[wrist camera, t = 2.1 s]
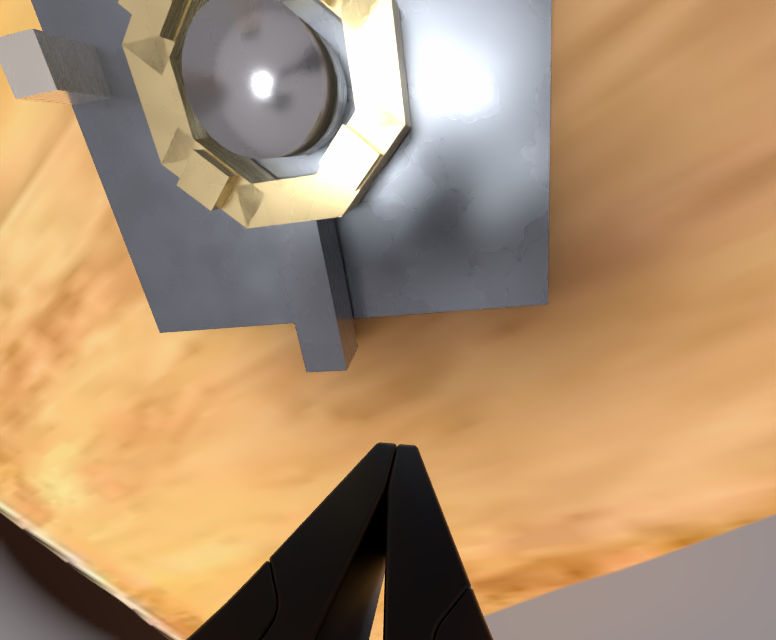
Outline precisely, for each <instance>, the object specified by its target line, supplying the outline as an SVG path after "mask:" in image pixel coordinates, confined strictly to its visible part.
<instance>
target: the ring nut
mask: <svg viewBox="0 0 776 640" xmlns="http://www.w3.org/2000/svg"><path fill="white" fill-rule="evenodd" d="M208 1H210V0H119V1H118V4H120V5H121V6H122V7H123V8H125V9H126V10H127V11H128V12H130V13H131V14H132V16H131V19H130V22H129V25H128V28H127V31H126V34H125V37H124V40H123V42H122V46H123V49H124V52H125V55H126V58H127V61H128V64H129V67H130V70H131V73H132V77H133V80H134V83H135V86H136V89H137V92H138V95H139V98H140V101H141V104H142V107H143V110H144V113H145V116H146V119H147V122H148V125H149V128H150V131H151V134H152V137H153V140H154V143H155V146H156V149H157V152H158V155H159V158H160V162H161V164H162V165H163V166H164V167H166V168H167V169H168V170H170V171H171V172H172V173H174V174H175V175H176V176H178V177H179V178H180V179H179V181H178V183H177V186H178V187H180V188H181V189H182V190H184V191H185V192H186V193H188V194H189V195H190V196H192V197H193V198H194V199H196V200H197V201H198V202H200V203H201V204H202V205H204V206H205V207H206V208H208V209H209V210H210V211H213V210H217V209H222V210H223V211H224V212H226V213H227V214H228V215H230V216H231V217H232V218H234V219H235V220H236V221H238V222H239V223H240V224H242V225H243V226H244V227H246V228H255V227H263V226H271V230H272V234H273V238H274V242H275V246H276V250H277V254H278V258H279V262H280V266H281V270H282V274H283V278H284V282H285V286H286V290H287V294H288V298H289V303H290V307H291V311H292V315H293V319H294V323H295V327H296V331H297V335H298V339H299V343H300V347H301V351H302V355H303V359H304V363H305V367H306V372H322V371H343V370H347V369H348V367H349V364H350V362H351V360H352V358H353V356H354V354H355V352H356V350H357V348H358V343H357V337H356V332H355V327H354V321H353V316H352V311H351V305H350V300H349V294H348V289H347V284H346V278H345V273H344V268H343V262H342V257H341V251H340V246H339V241H338V235H337V230H336V225H335V219H334V218H336V217H342V216H344V215H345V214H347V213H348V212H350V211H351V210H353V209H354V208H356V206H357V205H358V203H359V202H360V201H361V199H362V198H363V196H364V195H365V193H366V192H367V190H368V189H369V188H370V186H371V185H372V183H373V182H374V180H375V179H376V178H377V176H378V175H379V173H380V172H381V170H382V169H383V167H384V166H385V165H386V163H387V162H388V160H389V159H390V157H391V156H392V155H393V153H394V152H395V150H396V149H397V147H398V146H399V144H400V143H401V142H402V140H403V139H404V137H405V136H406V134H407V133H408V132H409V130H410V129H411V117H410V108H409V98H408V89H407V79H406V70H405V61H404V51H403V42H402V32H401V23H400V13H399V6H398V3H397V1H396V0H315V1H316V2H318V3H319V4H320V5H321V6H322V7H323V8H324V9H326V10H327V11H328V12H329V13H330V14H331V15H333V16H334V17H335V18H336V19H337V20H338V21H340V22H341V23H342V24H343V28H344V34H345V41H346V48H347V54H348V61H349V67H350V74H351V81H352V87H353V94H354V101H355V107H356V111H355V113H354V114H353V116H352V118H351V119H350V121H349V122H348V124H347V125H344V124H343V125H342V127H341V128H340V130H339V131H338V133H337V135H336V136H335V138H334V140H333V141H332V143H331V144H330V146H329V148H328V149H327V151H326V153H325V154H324V156H323V157H322V159H321V161H320V162H319V164H320V165H321V167H320V169H319V171H318V172H317V173H315V174H308V175H301V176H294V177H287V178H281V179H276V178H274V177H273V176H272V175H271V174H269V173H268V172H267V171H265V170H264V169H263V168H262V167H260V166H259V165H258V164H256V163H255V162H254V161H253V160H251V159H250V158H248V157H244V156H241V155H238V154H235V153H233V152H231V151H229V150H228V149H226V148H224V147H223V146H222V145H220V144H219V143H218V142H217V141H215V140H214V139H213V138H212V137H211V136H210V135H209V134H208V133H207V132H206V130H205V129H204V128H203V126H202V125H201V124H200V122H199V121H198V119H197V117H196V116H195V114H194V112H193V110H192V108H191V106H190V104H189V101H188V98H187V95H186V91H185V87H184V83H183V76H182V51H183V45H184V40H185V37H186V34H187V31H188V28H189V26H190V24H191V22H192V20H193V19H194V17H195V16H196V14H197V13H198V11H199V10H200V9H201V8H202V7H203V6H204V5H205V4H206V3H207V2H208Z"/></svg>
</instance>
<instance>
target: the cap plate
mask: <svg viewBox="0 0 776 640" xmlns="http://www.w3.org/2000/svg"><path fill="white" fill-rule="evenodd" d="M118 1H119V0H31V2H32V4H33V7H34V9H35V12H36V15H37V17H38V20H39V22H40V25H41V27H42V30H43V31H39V30H36V29H30V30H26V31H22V32H18V33H14V34H10V35H6V36H3V37H0V64H1V66H2V68H3V71H4V73H5V75H6V78H7V80H8V82H9V85H10V87H11V89H12V91H13V94H14V96H15V98H16V99H22V100H31V101H41V102H50V103H60V104H69V105H72V107H73V110H74V112H75V115H76V118H77V120H78V123H79V125H80V128H81V130H82V133H83V136H84V138H85V141H86V143H87V146H88V149H89V151H90V154H91V156H92V159H93V161H94V164H95V167H96V169H97V172H98V174H99V177H100V179H101V182H102V185H103V187H104V190H105V192H106V195H107V197H108V200H109V203H110V205H111V208H112V210H113V213H114V216H115V218H116V221H117V223H118V226H119V228H120V231H121V234H122V236H123V239H124V241H125V244H126V246H127V249H128V252H129V254H130V257H131V259H132V262H133V264H134V267H135V270H136V272H137V275H138V277H139V280H140V282H141V285H142V288H143V290H144V293H145V295H146V298H147V301H148V303H149V306H150V308H151V311H152V313H153V316H154V319H155V321H156V324H157V326H158V329H159V331H160V333H164V332H178V331H191V330H205V329H219V328H232V327H246V326H260V325H273V324H287V323H294V319H293V315H292V311H291V307H290V303H289V298H288V294H287V290H286V286H285V282H284V278H283V274H282V270H281V266H280V262H279V258H278V254H277V250H276V246H275V242H274V238H273V234H272V230H271V226H263V227H255V228H246V227H244V226H243V225H242V224H240V223H239V222H238V221H236V220H235V219H234V218H232V217H231V216H230V215H228V214H227V213H226V212H224V211H223V210H222V209H217V210H213V211H210V210H209V209H208V208H206V207H205V206H204V205H202V204H201V203H200V202H198V201H197V200H196V199H194V198H193V197H192V196H190V195H189V194H188V193H186V192H185V191H184V190H182V189H181V188H180V187H178V186H177V183H178V181H179V179H180V178H179V177H178V176H176V175H175V174H174V173H172V172H171V171H170V170H168V169H167V168H166V167H164V166H163V165H162V164H161V162H160V158H159V155H158V152H157V149H156V146H155V143H154V140H153V137H152V134H151V131H150V128H149V125H148V122H147V119H146V116H145V113H144V110H143V107H142V104H141V101H140V98H139V95H138V92H137V89H136V86H135V83H134V80H133V77H132V73H131V70H130V67H129V64H128V61H127V58H126V55H125V52H124V49H123V46H122V42H123V40H124V37H125V34H126V31H127V28H128V25H129V22H130V19H131V16H132V14H131V13H130V12H128V11H127V10H126V9H125V8H123V7H122V6H121V5H120V4H118ZM396 1H397V3H398V6H399V13H400V23H401V32H402V42H403V51H404V61H405V70H406V79H407V89H408V98H409V108H410V117H411V129H410V130H409V132H408V133H407V134H406V136H405V137H404V139H403V140H402V142H401V143H400V144H399V146H398V147H397V149H396V150H395V152H394V153H393V155H392V156H391V157H390V159H389V160H388V162H387V163H386V165H385V166H384V167H383V169H382V170H381V172H380V173H379V175H378V176H377V178H376V179H375V180H374V182H373V183H372V185H371V186H370V188H369V189H368V190H367V192H366V193H365V195H364V196H363V198H362V199H361V201H360V202H359V203H358V205H357V206H356V208H354V209H353V210H351V211H350V212H348V213H347V214H345V215H344V216H342V217H336V218H334V219H335V225H336V230H337V235H338V241H339V246H340V251H341V257H342V262H343V268H344V273H345V278H346V284H347V289H348V294H349V300H350V305H351V311H352V316H353V319H355V318H369V317H382V316H396V315H410V314H423V313H437V312H451V311H464V310H478V309H491V308H505V307H519V306H532V305H546V304H548V259H549V180H550V101H551V21H552V0H396ZM182 76H183V83H184V87H185V91H186V95H187V98H188V101H189V104H190V106H191V108H192V110H193V112H194V114H195V116H196V117H197V119H198V121H199V122H200V124H201V125H202V126H203V128H204V129H205V130H206V132H207V133H208V134H209V135H210V136H211V137H212V138H213V139H214V140H215V141H217V142H218V143H219V144H220V145H222V146H223V147H224V148H226V149H228V150H229V151H231V152H233V153H235V154H238V155H241V156H244V157H248V158H250V159H251V160H253V161H254V162H255V163H256V164H258V165H259V166H260V167H262V168H263V169H264V170H265V171H267V172H268V173H269V174H271V175H272V176H273V177H274V178H276V179H281V178H287V177H294V176H301V175H308V174H315V173H317V172H318V171H319V169H320V167H321V165H320V164H319V162H320V161H321V159H322V157H323V156H324V154H325V153H326V151H327V149H328V148H329V146H330V144H331V143H332V141H333V140H334V138H335V136H336V135H337V133H338V131H339V130H340V128H341V127H342V125H343V124H344V125H347V124H348V122H349V121H350V119H351V118H352V116H353V114H354V113H355V111H356V107H355V101H354V94H353V87H352V81H351V74H350V67H349V61H348V54H347V48H346V41H345V34H344V28H343V24H342V23H341V22H340V21H338V20H337V19H336V18H335V17H334V16H333V15H331V14H330V13H329V12H328V11H327V10H326V9H324V8H323V7H322V6H321V5H320V4H319V3H318V2H316V1H315V0H210V1H208V2H207V3H206V4H205V5H204V6H203V7H202V8H201V9H200V10H199V11H198V13H197V14H196V16H195V17H194V19H193V20H192V22H191V24H190V26H189V28H188V31H187V34H186V37H185V40H184V45H183V51H182Z"/></svg>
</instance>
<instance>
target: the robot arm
mask: <svg viewBox="0 0 776 640" xmlns="http://www.w3.org/2000/svg"><path fill="white" fill-rule="evenodd" d="M269 560H270V562H269V561H266V562H265V563H264V564H263V565H262V566H261V567H260V569H259V570H258V571H257V572H256V573H255V574H254V575H253V576H252V577H251V578H250V579H249V580H248V581H247V582H246V583H245V584H244V585H243V586H242V587H241V588H240V589H239V590H238V591H237V592H236V593H235V594H234V595H233V596H232V597H231V598H230V599H229V600H228V601H227V602H226V603H225V604H224V605H223V606H222V607H221V608H220V609H219V610H218V611H217V612H216V613H215V614H214V615H212V616H211V617H210V618H209V619H208V620H207V621H206V622H205V623H204V624H203V625H202V626H201V627H200V628H198V629H197V630H196V631H195V632H194V633H193V634H192V635H191V636H190V637H189V638H187V639H186V640H369V637H370V633H371V629H372V624H373V620H374V616H375V612H376V608H377V603H378V599H379V595H380V591H381V586H382V582H383V578H384V574H385V589H384V626H383V640H493V638H492V635H491V633H490V631H489V628H488V626H487V623H486V621H485V619H484V616H483V614H482V612H481V609H480V607H479V604H478V601H477V599H476V596H475V594H474V591H473V589H471V584H470V581H469V579H468V576H467V574H466V571H465V568H464V566H463V563H462V561H461V558H460V556H459V553H458V550H457V548H456V545H455V543H454V540H453V538H452V535H451V532H450V530H449V527H448V525H447V522H446V519H445V517H444V514H443V512H442V509H441V507H440V504H439V501H438V499H437V496H436V494H435V491H434V489H433V486H432V483H431V481H430V478H429V476H428V473H427V470H426V468H425V465H424V463H423V460H422V458H421V455H420V452H419V450H418V448H417V447H416V446H414V445H404V444H400V445H398V446H396V444H392V443H377V444H376V445H375V446H374V447H373V448H372V449H371V450H370V451H369V453H368V454H367V455H366V456H365V457H364V458H363V459H362V460H361V461H360V462H359V463H358V464H357V465H356V466H355V467H354V469H353V470H352V471H351V472H350V473H349V474H348V475H347V476H346V477H345V478H344V479H343V480H342V481H341V482H340V483H339V485H338V486H337V487H336V488H335V489H334V490H333V491H332V492H331V493H330V494H329V495H328V496H327V497H326V498H325V499H324V501H323V502H322V503H321V504H320V505H319V506H318V507H317V508H316V509H315V510H314V511H313V512H312V513H311V514H310V515H309V517H308V518H307V519H306V520H305V521H304V522H303V523H302V524H301V525H300V526H299V527H298V528H297V529H296V530H295V531H294V533H293V534H292V535H291V536H290V537H289V538H288V539H287V540H286V541H285V542H284V543H283V544H282V545H281V546H280V547H279V549H278V550H277V551H276V552H275V553H274V554H273V555H272V556H271V557H270V559H269Z"/></svg>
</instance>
